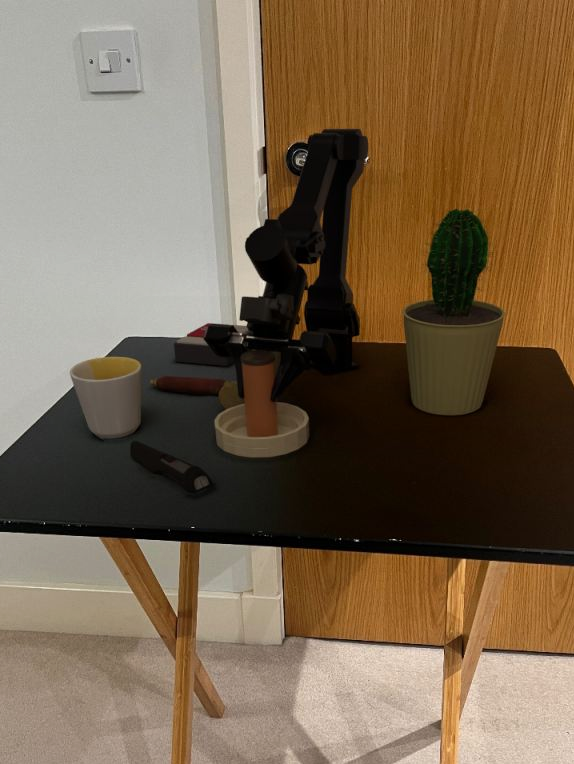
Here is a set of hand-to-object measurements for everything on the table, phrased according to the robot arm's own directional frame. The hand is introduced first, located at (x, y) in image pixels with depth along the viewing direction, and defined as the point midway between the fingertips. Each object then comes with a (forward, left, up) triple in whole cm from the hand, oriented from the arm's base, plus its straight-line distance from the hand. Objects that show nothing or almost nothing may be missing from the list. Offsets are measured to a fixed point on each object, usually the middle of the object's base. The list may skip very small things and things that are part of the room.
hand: (256, 399), depth 107 cm
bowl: (-1, -1, -7) cm, 7 cm away
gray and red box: (-13, -43, -7) cm, 45 cm away
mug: (+15, -17, -7) cm, 24 cm away
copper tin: (-1, -1, -6) cm, 7 cm away
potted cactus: (-33, +2, -7) cm, 34 cm away
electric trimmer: (+15, +2, -7) cm, 17 cm away
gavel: (-1, -23, -7) cm, 24 cm away
